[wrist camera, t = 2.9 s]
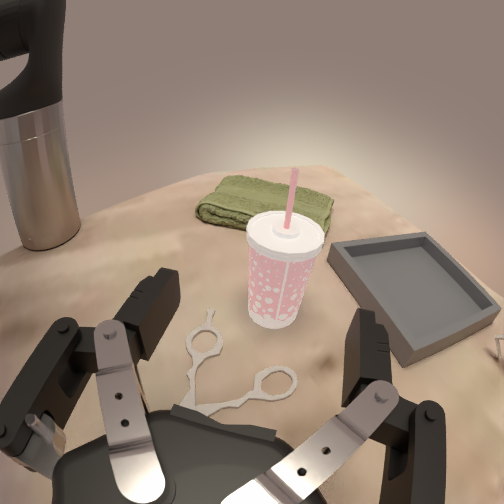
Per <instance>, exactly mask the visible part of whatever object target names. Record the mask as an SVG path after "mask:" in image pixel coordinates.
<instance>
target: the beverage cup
mask: <svg viewBox="0 0 504 504" xmlns="http://www.w3.org/2000/svg"><path fill="white" fill-rule="evenodd" d="M298 172H299V169H297V168H292V173H291V180H290V187H289V194H288V201H287V207H286V211H268V212H264V213H260V214H257V215H256V216H254V217H253V218H251V219H250V220H249V222H248V225H247V227H246V231H247V234H246V237H247V240H248V243H249V282H248V311H249V315H250V317H251V318H252V319H253V321H254V322H255V323H257V324H259V325H261V326H262V327H266V328H270V329H279V328H284V327H286V326H288V325H290V324H291V323H292V322H293V321H294V320H295V318H296V315H297V312H298V310H299V307H300V304H301V301H302V298H303V295H304V292H305V289H306V286H307V283H308V280H309V277H310V274H311V271H312V268H313V265H314V262H315V259H316V256H317V254H318V253H319V252H320V251H321V250H322V245H323V244H324V232H323V230H322V229H321V227H320V225H318V224H317V223H316V222H314V221H313V220H311V219H310V218H308V217H305V216H303V215H300V214H298V213H293V212H292V210H293V204H294V197H295V191H296V185H297V178H298Z"/></svg>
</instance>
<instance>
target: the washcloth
mask: <svg viewBox="0 0 504 504" xmlns="http://www.w3.org/2000/svg"><path fill="white" fill-rule="evenodd" d="M289 187H290V185H286V184H281V183H273V182H269V181H264V180H260V179H258V178H251V177H245V176H242V175H236V176H227V177H225V178H224V179H223V180H222V182H221V183H220V184H219V185H218V186H217V187H216V188H215V192H213V193H210V194H209V195H208V196H206V197H205V198H204V199H202V200H201V201H200V202H199V204H198V205H197V206H196V209H195V214H196V215H197V217H198V218H200V219H201V220H203V221H207V222H209V223H213V224H219V225H222V226H225V227H229V228H238V229H240V230H244V231H246V227H247V225H248V222H249V220H250V219H251V218H253V217H254V216H256V215H257V214H260V213H264V212H268V211H286V207H287V201H288V194H289ZM333 202H334V200H333V199H331V198H330V197H329V196H327V195H325V194H321V193H318V192H316V191H312V190H311V189H307V188H302V187H298V186H296V191H295V197H294V204H293V210H292V212H293V213H298V214H300V215H303V216H305V217H308V218H310V219H311V220H313V221H314V222H316V223H317V224H318V225H320V227H321V229H322V230H323V232H324V237H325V234H326V231H327V230H328V228H329V225H330V222H331V217H330V210H331V207H332V205H333Z"/></svg>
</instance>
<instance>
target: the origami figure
mask: <svg viewBox="0 0 504 504" xmlns="http://www.w3.org/2000/svg"><path fill="white" fill-rule="evenodd" d="M499 339H503V340H504V334H501V335H495V341H496V346H497V351H498V356H497V355H495V357H496V358H499V359H502V355H501V349H500V343H499Z"/></svg>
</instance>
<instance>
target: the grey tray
mask: <svg viewBox="0 0 504 504" xmlns="http://www.w3.org/2000/svg"><path fill="white" fill-rule="evenodd" d="M327 261H328V263H329V264H330V265H331V267H332V268H333V269H334V271H335V272H336V273H337V275H338V276H339V278H340V279H341V280H342V282H343V283H344V284H345V286H346V287H347V288H348V290H349V291H350V293H351V294H352V295H353V297H354V298H355V300H356V301H357V302H358V304H359V305H360V307H361V308H362V309H366V310H372V311H374V312H375V320H376V323H377V324H383V325H384V327H385V329H386V331H387V332H388V335H389V346H390V350H391V351H392V353H393V354H394V356H395V357H396V359H397V360H398V362H399V363H400V365H401V366H402V368H403V367H406V366H408V365H410V364H413V363H415V362H417V361H419V360H422V359H424V358H426V357H428V356H430V355H432V354H434V353H437V352H439V351H441V350H443V349H445V348H447V347H449V346H451V345H453V344H455V343H457V342H459V341H461V340H462V339H464V338H466V337H468V336H470V335H472V334H474V333H476V332H477V331H479V330H481V329H483V328H484V327H486V326H488V325H490V324H491V323H492V322H493V321H494V319H495V318H496V316H497V315H498V313H499V312H500V310H501V309H502V308H501V307H500V306H499V305H498V304H497V302H496V301H495V300H494V299H493V298H492V297H491V296H490V295H489V294H488V293H487V292H486V291H485V289H484V288H483V287H482V286H481V285H480V284H479V283H478V282H477V281H476V280H475V279H474V278H473V277H472V276H471V275H470V274H469V273H468V272H467V271H466V270H465V269H464V268H463V267H462V266H461V265H460V264H459V263H458V262H457V261H456V260H455V259H454V258H453V257H452V256H451V255H450V254H449V253H448V252H447V251H446V250H445V249H443V248H442V247H441V246H440V245H439V244H438V243H437V242H436V241H435V240H434V239H433V238H432V237H431V236H429V235H428V234H427V233H426V232H420V233H412V234H403V235H395V236H386V237H378V238H369V239H361V240H352V241H344V242H335V243H331V247H330V251H329V254H328V258H327Z"/></svg>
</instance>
